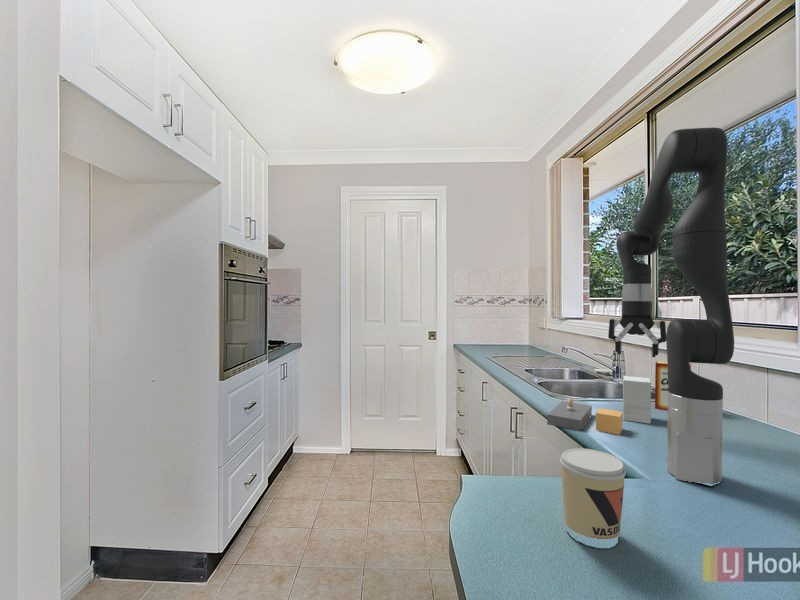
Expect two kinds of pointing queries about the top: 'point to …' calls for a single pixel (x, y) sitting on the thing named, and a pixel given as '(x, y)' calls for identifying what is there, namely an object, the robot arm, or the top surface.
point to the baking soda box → (661, 385)
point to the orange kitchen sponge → (609, 421)
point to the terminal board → (569, 415)
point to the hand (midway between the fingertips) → (636, 355)
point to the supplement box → (637, 399)
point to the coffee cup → (592, 492)
